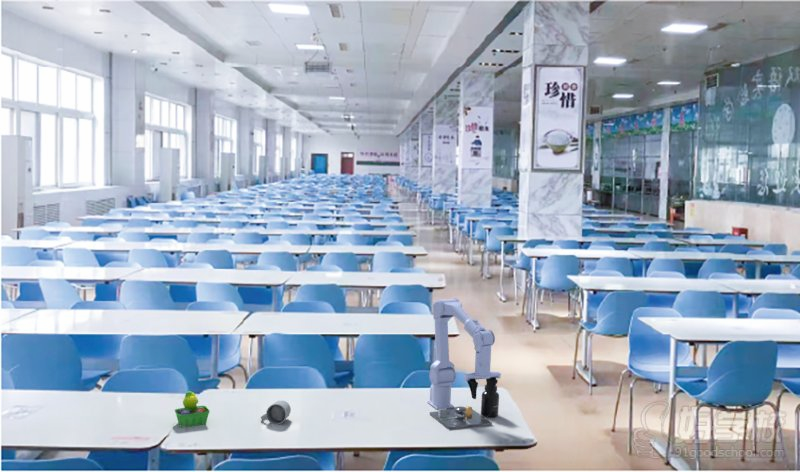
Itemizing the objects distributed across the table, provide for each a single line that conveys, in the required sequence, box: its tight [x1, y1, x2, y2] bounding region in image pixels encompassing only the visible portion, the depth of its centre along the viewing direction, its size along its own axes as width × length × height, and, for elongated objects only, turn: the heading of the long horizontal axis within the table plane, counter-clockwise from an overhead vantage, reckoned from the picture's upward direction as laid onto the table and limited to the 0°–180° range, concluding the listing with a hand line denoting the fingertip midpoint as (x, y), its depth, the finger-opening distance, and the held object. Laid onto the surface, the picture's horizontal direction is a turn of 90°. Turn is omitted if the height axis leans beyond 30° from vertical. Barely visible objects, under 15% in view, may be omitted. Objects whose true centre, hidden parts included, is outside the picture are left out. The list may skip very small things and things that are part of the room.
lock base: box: [429, 408, 493, 430], centre depth 299 cm, size 18×18×4 cm
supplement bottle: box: [480, 383, 500, 419], centre depth 305 cm, size 7×7×12 cm
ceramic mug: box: [260, 399, 292, 426], centre depth 291 cm, size 11×8×8 cm
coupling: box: [453, 406, 473, 419], centre depth 296 cm, size 11×5×4 cm, turn 21°
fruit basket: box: [174, 391, 211, 428], centre depth 285 cm, size 11×9×11 cm
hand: (481, 397), depth 294 cm, fingers open, 6 cm apart
